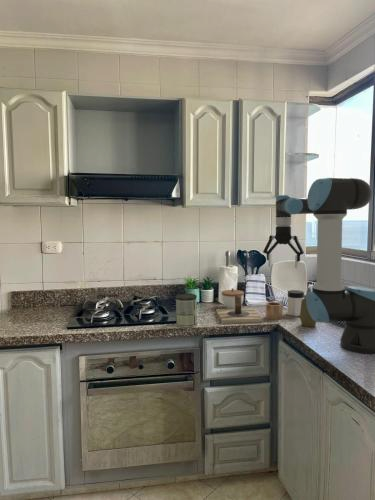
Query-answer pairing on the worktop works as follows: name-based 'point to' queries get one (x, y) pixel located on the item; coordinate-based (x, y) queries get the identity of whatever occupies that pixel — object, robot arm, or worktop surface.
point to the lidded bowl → (231, 297)
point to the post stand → (238, 314)
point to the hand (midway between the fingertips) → (283, 267)
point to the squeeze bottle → (306, 312)
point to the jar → (295, 302)
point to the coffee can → (186, 310)
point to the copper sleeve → (274, 310)
